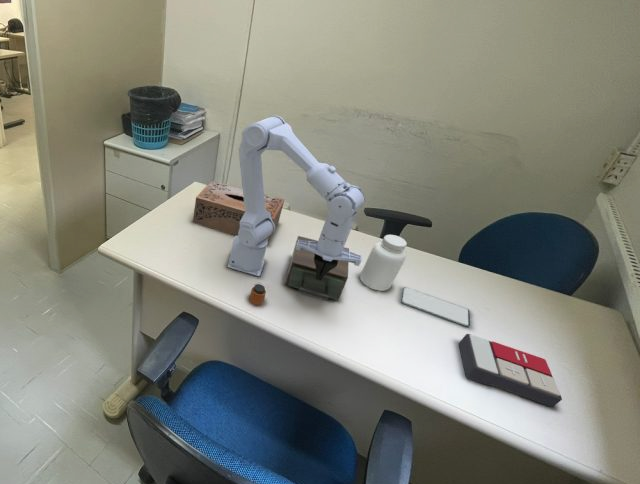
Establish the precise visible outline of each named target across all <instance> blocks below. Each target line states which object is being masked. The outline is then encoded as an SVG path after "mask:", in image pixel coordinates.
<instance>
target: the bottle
mask: <svg viewBox="0 0 640 484" xmlns="http://www.w3.org/2000/svg"><path fill="white" fill-rule="evenodd" d="M266 293H267V290H266V287H265V286H264V285H263V284H261V283H256V284H254V286H252V288H251V290H250V294H249V298H248V299H249V300H248V301H249V302H250V304H252V305H254V306H262V305H263V304H264V301H265V297H266Z"/></svg>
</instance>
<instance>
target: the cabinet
mask: <svg viewBox="0 0 640 484" xmlns="http://www.w3.org/2000/svg"><path fill="white" fill-rule="evenodd" d="M298 240H303V241H315V242H318V240H316V239H312V238H308V237H305V236H300V235H297V239H296V241H295V245H294V248H293V251H292V254H291V258H290V262H289V266H288V271H287V275H286V279H285V283H284V286H288V282H289V278H290V275H291V272H292V269H293V266H298V267H302V268H306V269H309V270H313V271H316V266H315V262H314V255H315V253H312V252H309V251H305V250H301V249H300V250H296V245H297V242H298ZM343 249H346V250H348V251H350V248H348V247H345V246H344V248H343ZM349 263H350V262H347V261H343V260H338V264H337V266H336V267H335V268H333V269H332V270H330V271H329V272H328V273H327V275H331V276H334V277H338V278H340V279H344V284H343V286H342V288H341V291H340V293H339V295H338V298H337V300H336V301H339V300H340V297H341V294H342V293H343V291H344V289H345V285H346V283H347V280H348V279H349Z"/></svg>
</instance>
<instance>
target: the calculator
mask: <svg viewBox="0 0 640 484" xmlns="http://www.w3.org/2000/svg"><path fill="white" fill-rule="evenodd" d="M458 346H459V351H460V354H461V361H462V366H463V369H464V374H465V377H466V378H467V379H468V380H471V381H475V382H476V383H480V384H482V385H485V386H494V387H495V388H499V389H501V390H504V391H507V392H509V393H511V394H514V395H515V394H516V395H518V396H520V397H522V398H526V399H529V400H531V401H533V402H537V403H538V404H541V405H545V406H547V407H550V408H554V407H555V406H556V405H557V404H558V403H560V402H561V401H562V400H563V398H562V395H561V393H560V390H559V388H558V385H557V383H556V380H555V378H554V377H553V374H552V372H551V370H550V369H551V368H550V366H549V364H548V362H547V360H546V359H545V358H543V357H540V356H538V355H535V354H532V353H528V352H526V351H522V350H519V349H516V348H514V347H511V346H508V345H504V344H503V343H499V342H496V341H492V340H488V339H485V338H482V337H480V336H477V335H475V334H474V335H473V334H470V333H466V334H465V335H463V337H462V338H461V340H459V342H458Z"/></svg>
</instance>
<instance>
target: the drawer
mask: <svg viewBox="0 0 640 484" xmlns="http://www.w3.org/2000/svg"><path fill="white" fill-rule="evenodd" d="M315 277H316V271H313V270H309V269H306V268H302V267H298V266H293V269H292V272H291V275H290V278H289V282H288V285H287V287H292V288H295V289H298V293H300V294H303V295H306V296H309V297H313V298H316V299H319V300H322V301H328V299H332V300H335V301H338V300H337V298H338V295H339V293H340V291H341V288H342V286H343V284H344V279H340V278H338V277H334V276H331V275H327V274H326V275H325V276H324V277H323V278H322V280H321V281H320V280H316V279H315Z"/></svg>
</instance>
